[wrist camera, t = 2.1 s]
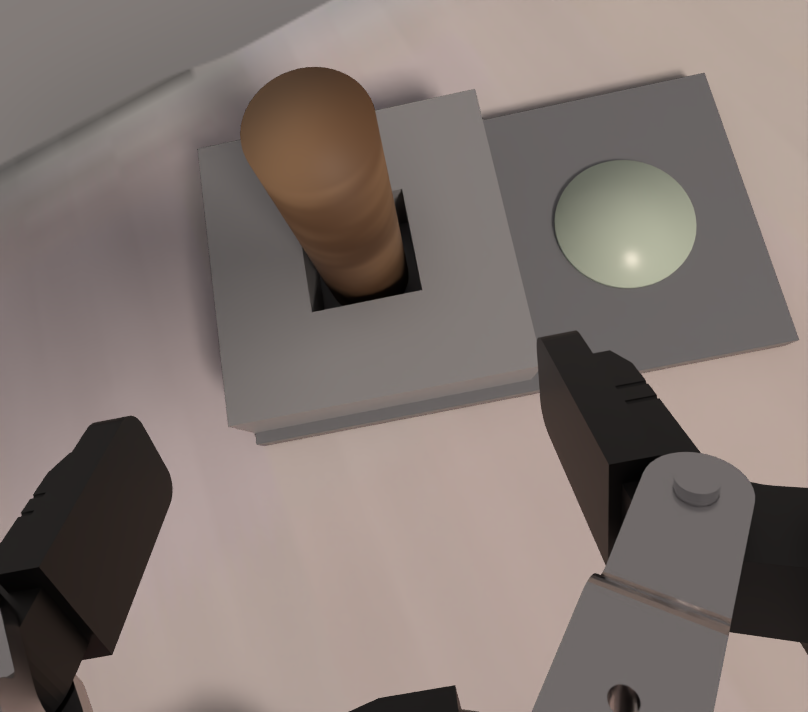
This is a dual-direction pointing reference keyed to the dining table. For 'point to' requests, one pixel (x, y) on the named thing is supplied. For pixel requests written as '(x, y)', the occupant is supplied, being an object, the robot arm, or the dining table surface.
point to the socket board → (613, 318)
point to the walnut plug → (329, 179)
